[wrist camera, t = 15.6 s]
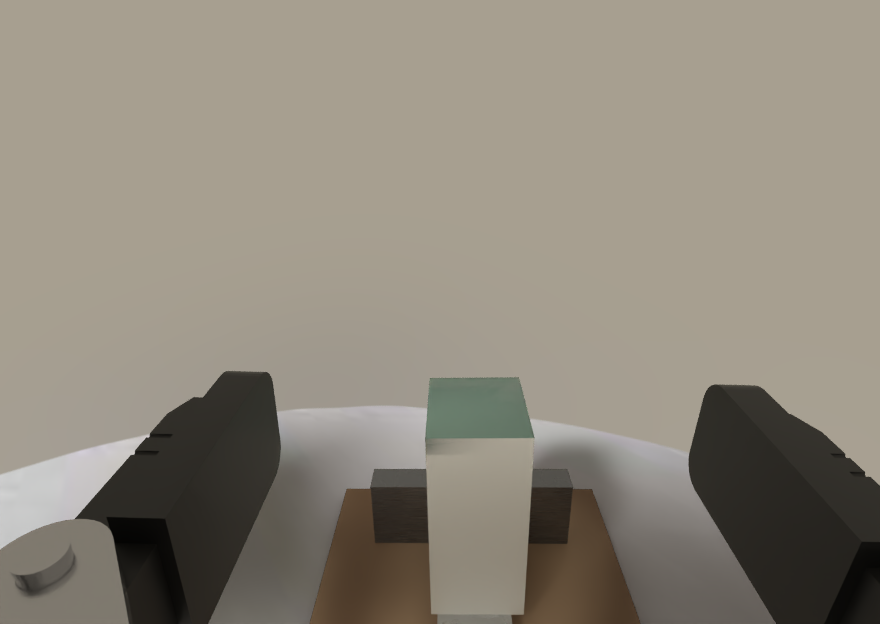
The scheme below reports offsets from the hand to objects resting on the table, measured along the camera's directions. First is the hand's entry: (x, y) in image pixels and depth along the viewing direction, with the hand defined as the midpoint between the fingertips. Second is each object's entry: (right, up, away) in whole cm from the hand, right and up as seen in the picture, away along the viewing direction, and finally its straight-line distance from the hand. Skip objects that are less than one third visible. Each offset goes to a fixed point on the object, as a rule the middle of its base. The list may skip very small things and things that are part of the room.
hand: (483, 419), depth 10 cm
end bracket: (+1, -12, +21) cm, 24 cm away
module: (+1, -11, +17) cm, 21 cm away
